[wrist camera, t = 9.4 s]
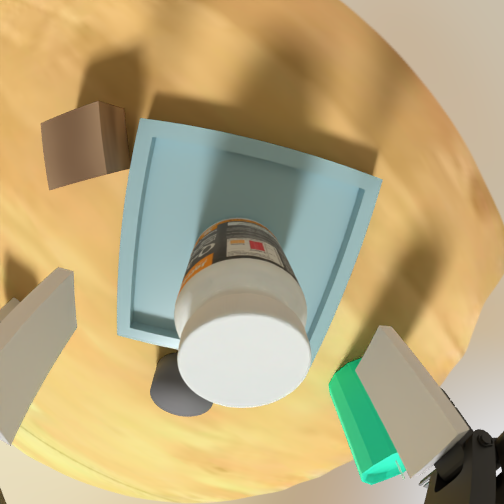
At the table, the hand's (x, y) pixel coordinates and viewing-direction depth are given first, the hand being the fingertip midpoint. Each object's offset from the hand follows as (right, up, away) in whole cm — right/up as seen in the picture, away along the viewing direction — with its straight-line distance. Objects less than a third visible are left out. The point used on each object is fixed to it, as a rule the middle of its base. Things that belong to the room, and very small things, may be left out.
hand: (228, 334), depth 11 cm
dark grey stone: (-5, -7, +12) cm, 14 cm away
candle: (+11, -9, +14) cm, 20 cm away
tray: (0, +3, +8) cm, 9 cm away
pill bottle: (0, +3, +8) cm, 8 cm away
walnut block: (-9, +10, +5) cm, 14 cm away
